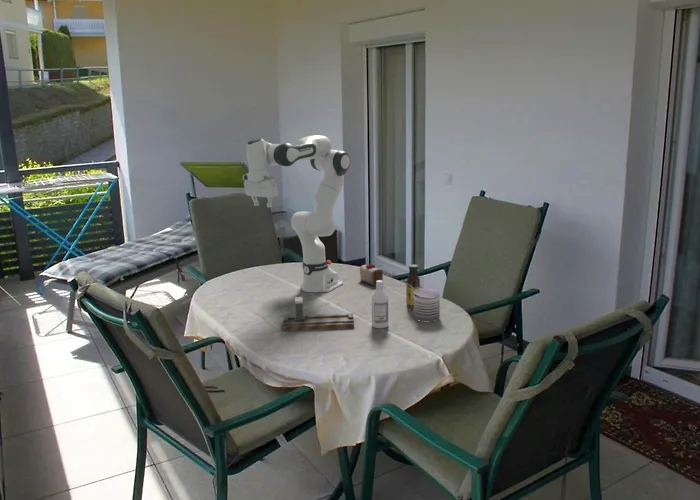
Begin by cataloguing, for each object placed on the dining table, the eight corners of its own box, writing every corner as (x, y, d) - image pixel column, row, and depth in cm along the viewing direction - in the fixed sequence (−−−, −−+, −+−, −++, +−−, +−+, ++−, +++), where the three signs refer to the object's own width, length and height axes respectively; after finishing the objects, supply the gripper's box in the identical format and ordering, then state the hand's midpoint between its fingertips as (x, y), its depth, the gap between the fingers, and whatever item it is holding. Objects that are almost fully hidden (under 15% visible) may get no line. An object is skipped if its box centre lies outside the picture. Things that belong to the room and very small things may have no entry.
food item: (357, 280, 335) (357, 262, 333) (370, 277, 339) (369, 260, 337) (372, 287, 324) (372, 268, 322) (385, 284, 328) (385, 265, 326)
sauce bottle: (405, 304, 297) (405, 263, 292) (418, 303, 298) (418, 262, 293) (407, 309, 291) (407, 267, 286) (421, 308, 292) (421, 266, 286)
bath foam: (391, 327, 271) (390, 282, 266) (376, 330, 268) (376, 284, 263) (383, 321, 277) (382, 277, 272) (369, 324, 274) (368, 280, 269)
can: (424, 311, 288) (424, 286, 285) (444, 317, 280) (445, 291, 277) (408, 318, 280) (408, 292, 277) (428, 324, 273) (428, 297, 270)
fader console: (283, 331, 269) (282, 323, 268) (284, 321, 281) (283, 313, 280) (354, 328, 271) (354, 320, 270) (352, 317, 282) (352, 310, 281)
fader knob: (295, 322, 272) (293, 301, 269) (295, 318, 277) (294, 297, 274) (304, 322, 272) (303, 300, 270) (304, 318, 277) (303, 296, 275)
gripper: (279, 175, 278) (283, 206, 282) (251, 174, 293) (255, 203, 296) (267, 177, 274) (271, 209, 277) (240, 176, 289) (244, 206, 292)
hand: (263, 206), depth 287 cm, fingers open, 8 cm apart
